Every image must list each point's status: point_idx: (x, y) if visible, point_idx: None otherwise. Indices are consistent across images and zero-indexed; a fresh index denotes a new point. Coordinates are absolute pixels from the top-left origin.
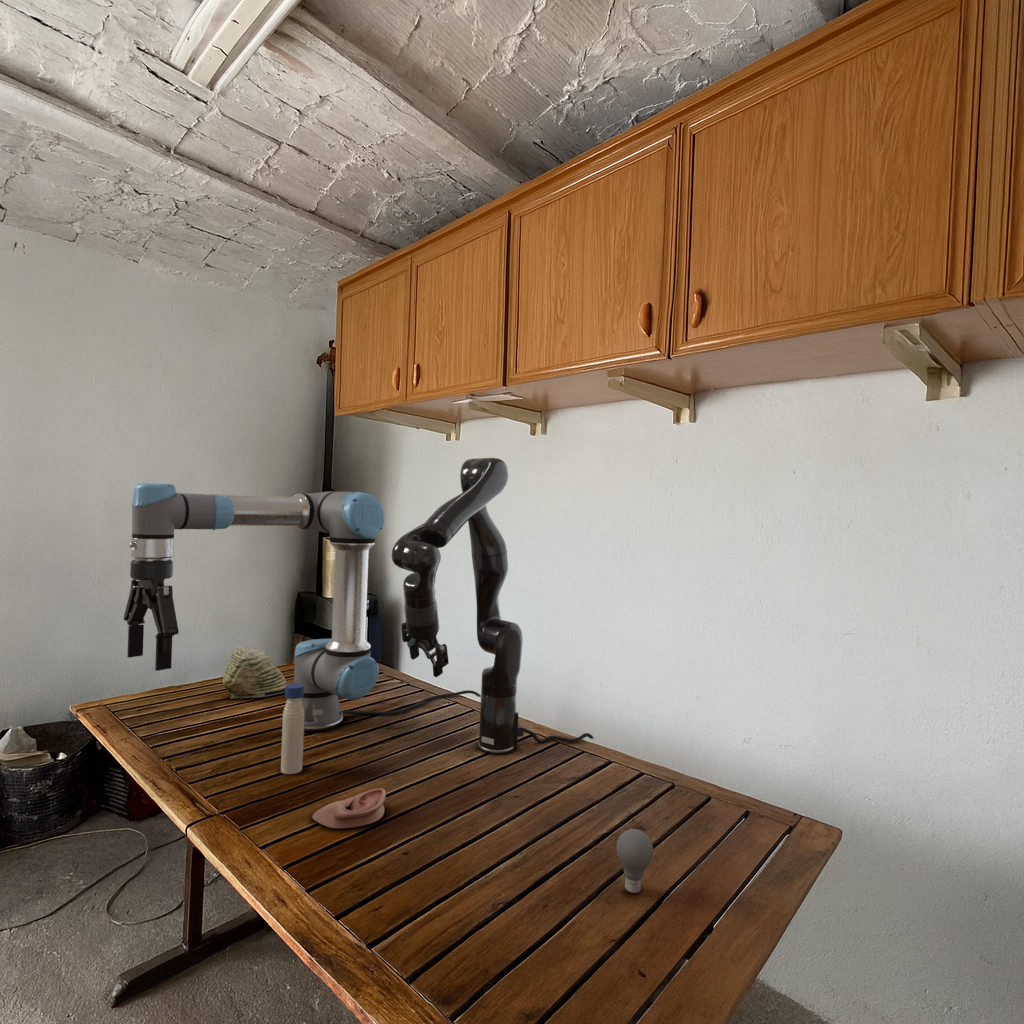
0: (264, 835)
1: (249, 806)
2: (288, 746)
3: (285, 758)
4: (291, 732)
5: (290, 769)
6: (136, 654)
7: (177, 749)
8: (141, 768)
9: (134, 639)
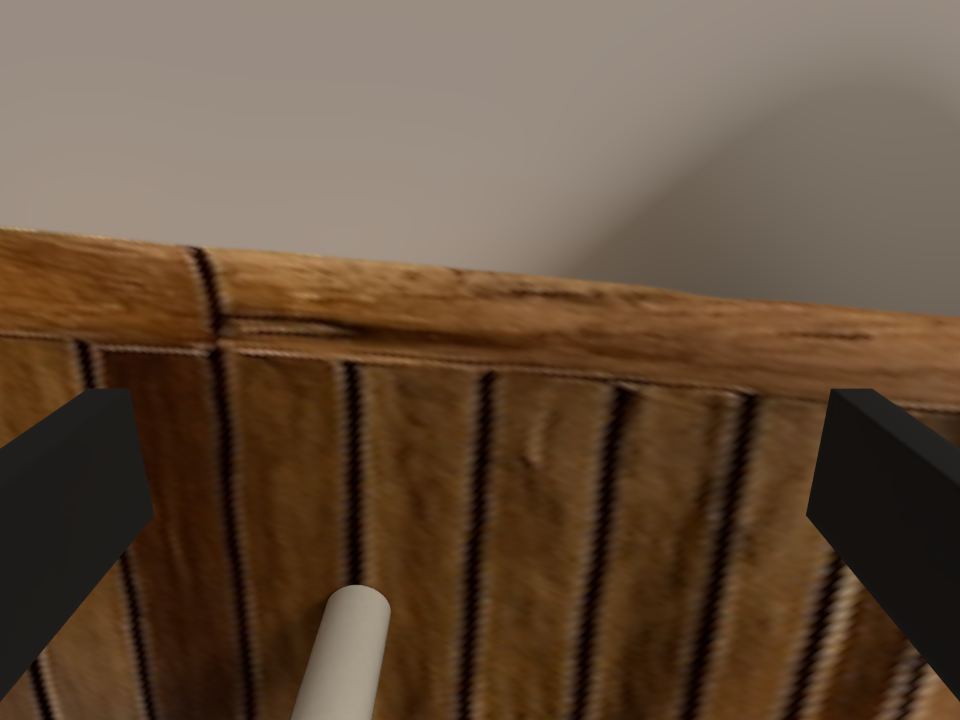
0: (6, 370)
1: (205, 423)
2: (317, 656)
3: (335, 621)
4: (298, 703)
5: (327, 605)
6: (826, 469)
7: (785, 459)
8: (727, 314)
9: (954, 558)
